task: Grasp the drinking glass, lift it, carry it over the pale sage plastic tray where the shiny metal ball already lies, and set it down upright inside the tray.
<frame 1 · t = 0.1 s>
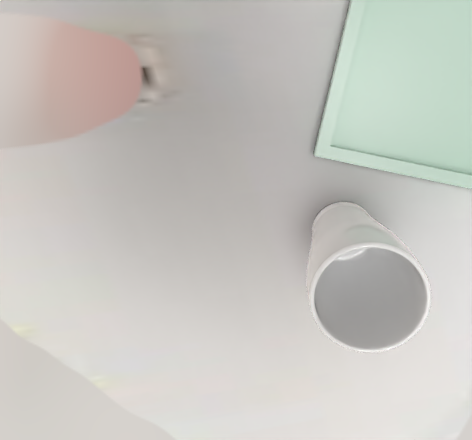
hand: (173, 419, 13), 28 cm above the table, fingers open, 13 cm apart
tray: (434, 59, 35), on the table
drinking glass: (341, 229, 39), on the table
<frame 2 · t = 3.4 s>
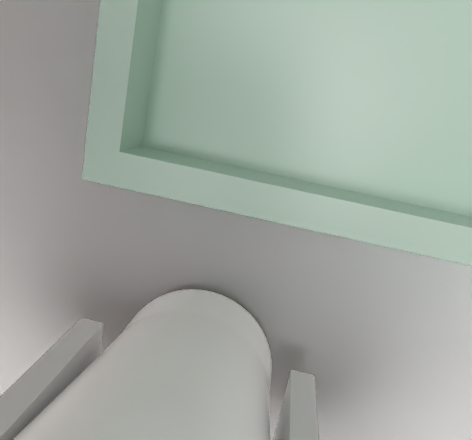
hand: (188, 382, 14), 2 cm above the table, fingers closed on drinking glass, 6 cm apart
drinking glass: (201, 347, 16), on the table, touching gripper
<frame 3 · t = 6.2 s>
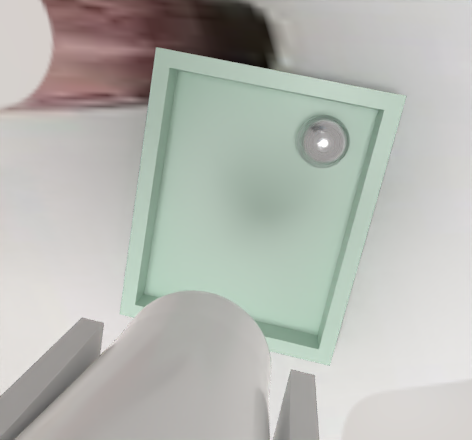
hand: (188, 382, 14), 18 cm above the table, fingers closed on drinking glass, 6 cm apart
tray: (252, 208, 31), on the table
shiny metal ball: (321, 140, 28), point 1 cm above the table, touching tray
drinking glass: (200, 349, 16), point 15 cm above the table, touching gripper
when the fingers open (4 cm above the table, at t = 8.8 s): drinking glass drops 1 cm, resting on tray.
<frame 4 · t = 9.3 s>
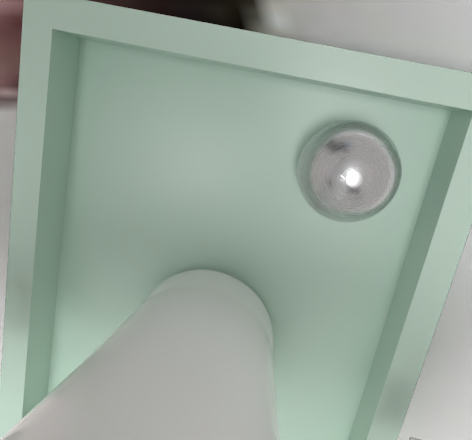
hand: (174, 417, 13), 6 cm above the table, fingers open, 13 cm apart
tray: (220, 279, 18), on the table
shiny metal ball: (342, 166, 16), point 1 cm above the table, touching tray
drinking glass: (208, 325, 18), resting on tray
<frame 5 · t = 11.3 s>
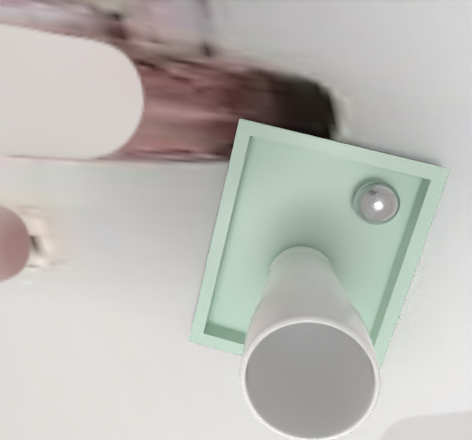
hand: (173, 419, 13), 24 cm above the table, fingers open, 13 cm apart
tray: (308, 252, 35), on the table
shiny metal ball: (372, 199, 33), point 1 cm above the table, touching tray
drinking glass: (301, 275, 35), resting on tray
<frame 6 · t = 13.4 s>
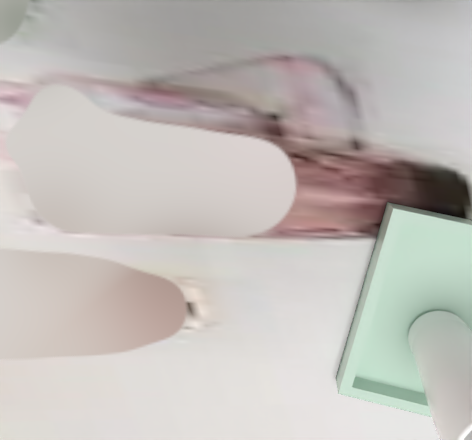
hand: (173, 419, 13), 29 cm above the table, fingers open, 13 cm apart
tray: (441, 314, 40), on the table
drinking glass: (436, 333, 40), resting on tray
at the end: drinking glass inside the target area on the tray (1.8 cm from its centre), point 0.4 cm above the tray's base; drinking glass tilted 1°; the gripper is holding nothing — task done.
